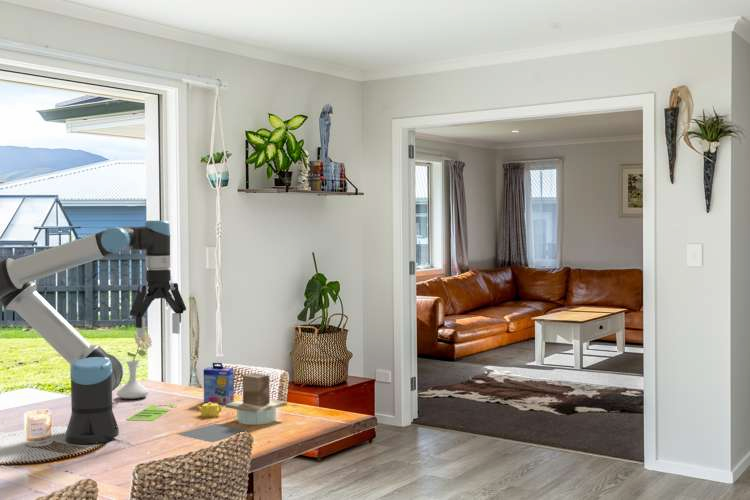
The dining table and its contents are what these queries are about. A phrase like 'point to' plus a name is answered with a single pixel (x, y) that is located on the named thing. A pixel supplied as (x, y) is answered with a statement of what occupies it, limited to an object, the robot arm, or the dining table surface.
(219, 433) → the mat
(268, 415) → the bowl
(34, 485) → the dining table surface
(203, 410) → the teapot
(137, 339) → the flower in vase
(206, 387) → the ink cartridge box
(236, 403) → the lid
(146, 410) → the door hanger
